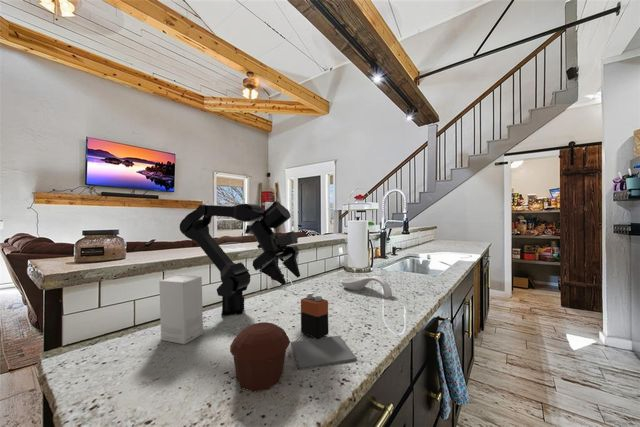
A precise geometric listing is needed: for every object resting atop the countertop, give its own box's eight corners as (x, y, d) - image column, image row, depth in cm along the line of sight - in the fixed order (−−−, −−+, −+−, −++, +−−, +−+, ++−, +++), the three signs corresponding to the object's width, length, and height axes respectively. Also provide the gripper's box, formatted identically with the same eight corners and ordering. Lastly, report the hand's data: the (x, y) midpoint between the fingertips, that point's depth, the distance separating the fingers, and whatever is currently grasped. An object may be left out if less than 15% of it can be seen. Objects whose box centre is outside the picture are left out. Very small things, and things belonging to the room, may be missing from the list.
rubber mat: (299, 369, 53) (299, 367, 53) (290, 343, 64) (290, 341, 64) (356, 360, 57) (356, 357, 57) (339, 337, 67) (339, 335, 67)
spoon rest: (335, 288, 113) (335, 272, 113) (351, 283, 121) (351, 268, 121) (381, 301, 96) (382, 282, 96) (397, 294, 105) (397, 277, 105)
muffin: (237, 405, 43) (237, 346, 43) (223, 371, 53) (224, 322, 53) (299, 381, 49) (300, 330, 49) (277, 355, 59) (277, 311, 59)
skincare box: (203, 334, 68) (204, 276, 69) (183, 346, 62) (183, 282, 62) (179, 329, 71) (180, 273, 71) (157, 340, 65) (158, 279, 65)
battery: (317, 340, 65) (317, 299, 65) (300, 332, 69) (299, 295, 70) (329, 335, 68) (328, 296, 69) (311, 328, 72) (311, 292, 73)
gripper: (267, 223, 69) (297, 272, 65) (297, 221, 86) (323, 260, 83) (240, 246, 72) (268, 294, 69) (274, 240, 89) (298, 278, 86)
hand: (292, 280), depth 76 cm, fingers open, 9 cm apart
